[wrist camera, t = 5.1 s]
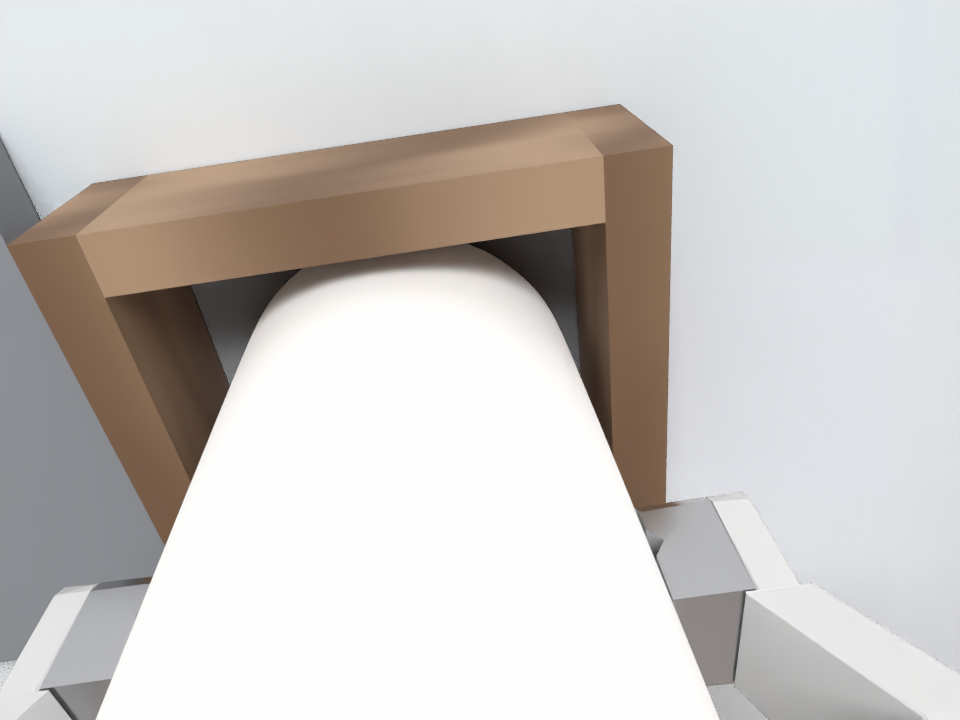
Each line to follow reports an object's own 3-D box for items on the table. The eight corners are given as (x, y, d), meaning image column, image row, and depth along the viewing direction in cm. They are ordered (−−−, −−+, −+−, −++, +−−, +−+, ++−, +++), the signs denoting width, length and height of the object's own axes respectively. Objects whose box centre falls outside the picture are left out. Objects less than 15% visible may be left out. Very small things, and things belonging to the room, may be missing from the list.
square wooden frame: (620, 104, 12) (672, 144, 10) (627, 497, 17) (663, 593, 15) (92, 183, 12) (5, 245, 10) (253, 553, 17) (224, 659, 15)
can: (602, 256, 13) (1281, 1319, 3) (522, 503, 16) (717, 1430, 6) (257, 197, 12) (-611, 1648, 2) (244, 476, 15) (-95, 1574, 5)
